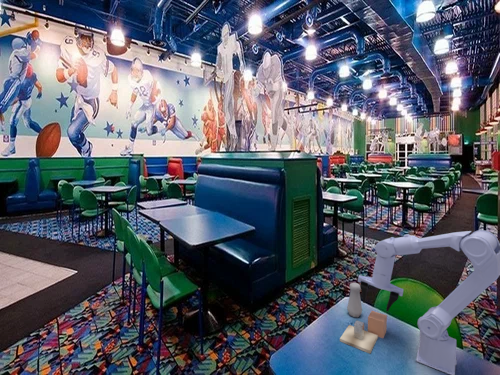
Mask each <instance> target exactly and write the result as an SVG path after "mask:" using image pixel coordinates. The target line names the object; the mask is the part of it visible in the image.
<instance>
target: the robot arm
mask: <svg viewBox="0 0 500 375" xmlns="http://www.w3.org/2000/svg"><path fill="white" fill-rule="evenodd" d="M470 233H471V234H470ZM446 247H447V248H449V247H450V248H451V249H453V250H455V251H457V252H460V251H462V252H463V253H464V255H465V256H466V257H467V259H468V260H469V261H470V262H471V263H470V264H471V265H472V268H473V271H472V272H471V273H470V274H468V276H467V277H466V278H465V279H464V280H463V281H461V283H460V284H459V285H458V286H457V287H456V288H455V289H454V290H453V291H451V292H450V293H449V294H448V295H447V297H445V299H444V300H442V301H441V303H439V304H438V305H437V306H432V307H430V308H429V309H428V310H427V311H426V312H425V313H424V314H423V315H422V316H420V317H419V318H418V319H417V327H418V329H419V340H418V341H419V343H418V344H419V346H418V348H417V354H416V359H415V361H416V362H417V363H419V364H422V365H425V366H427V367H430V368H433V369H434V370H435V369H436V370H437V371H439V372H443V373H445V374H448V375H456V366H457V364H458V359H457V358H456V357H457V339H456V338H453V337H451V336H449V333H448V330H447V329H448V328H449V326H450V325H451V323H452V320H453V319H454V318H455V317H456V316H458V314H460V313H461V312H462V311H463V310H465V308H466V307H467V306H469V305H470V304H471V303H472V302H473V301H475V299H476V298H477V297H478V296H480V295H481V294H483V292H485V290H486V289H487V288H489V287H490V286H491V285H492V284H493V283H495V281H497V279H498V278H500V241H499V240H498V237H497V236H496V235H495V234H494V233H492V232H490V231H488V230H484V229H483V230H481V229H480V230H476V231H473V232H472V230H469V231H468V230H466V231H456V232H450V233H444V234H443V233H442V234H438V235H432V236H426V237H422V238H419V237H418V236H415V235H410V234H409V233H408V234H404V235H403V236H401V237H394V236H391V237H389V238H385V239H382V240H380V241H379V242H378V241H377V243H376V244H375V248H374V249H375V252H376V257H375V261H374V262H375V263H374V267H373V271H372V277H370V276H364V275H361V274H359V275H358V278H357V282H358V283H359V285H360V288H361V290H360V291H361V293H362V299H363V300H362V303H364V304H365V303H366V301H367V292H368V289H369V288H368V287H369V286H371V287H374V288H377V289H380V290H382V291H383V290H384V291H388V292H389V297H388V301H387V305H386V308H385V311H386V312H389V310H390V309H391V307H392V305H393V304H395V303H396V302H397V301H398V300H399V296H400V297H403V295H404V288H401V287H398V286H396V285H394V284H393V283H391V279H392V276H393V275H392V274H393V270H394V269H393V268H394V264H395V259H396V256H405V255H406V256H407V255H414V254H420V252H421V251H422V250H423V249H434V248H446Z"/></svg>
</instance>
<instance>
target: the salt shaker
mask: <svg viewBox="0 0 500 375" xmlns="http://www.w3.org/2000/svg"><path fill="white" fill-rule="evenodd" d="M349 289H350V293H349V297H348V302H347V306H346V309H347V312H348V314H349V316H351V317H353V318H359V317H360V316H361V315H362V313H363V306H362V300H361V294H360V291H362V290H361V288H360V283H359V282H358V283H357V282H351V283H350V284H349Z"/></svg>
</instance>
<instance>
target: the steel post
mask: <svg viewBox="0 0 500 375" xmlns="http://www.w3.org/2000/svg"><path fill="white" fill-rule="evenodd" d="M353 325H354V337H355V338H357V339H360V340H362V339H363V337H364V330H365V322H363V321H360V320H355V322H354V324H353Z"/></svg>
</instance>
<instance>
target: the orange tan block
mask: <svg viewBox="0 0 500 375" xmlns="http://www.w3.org/2000/svg"><path fill="white" fill-rule="evenodd" d="M387 322H388V316H387V314H384V313H381V312H377V311H374V310H371V311H370V312H369V314H368V316H367V332H370V333H373V334H376V335H378V338H381V339H384V338H385V336H386V333H387Z"/></svg>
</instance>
